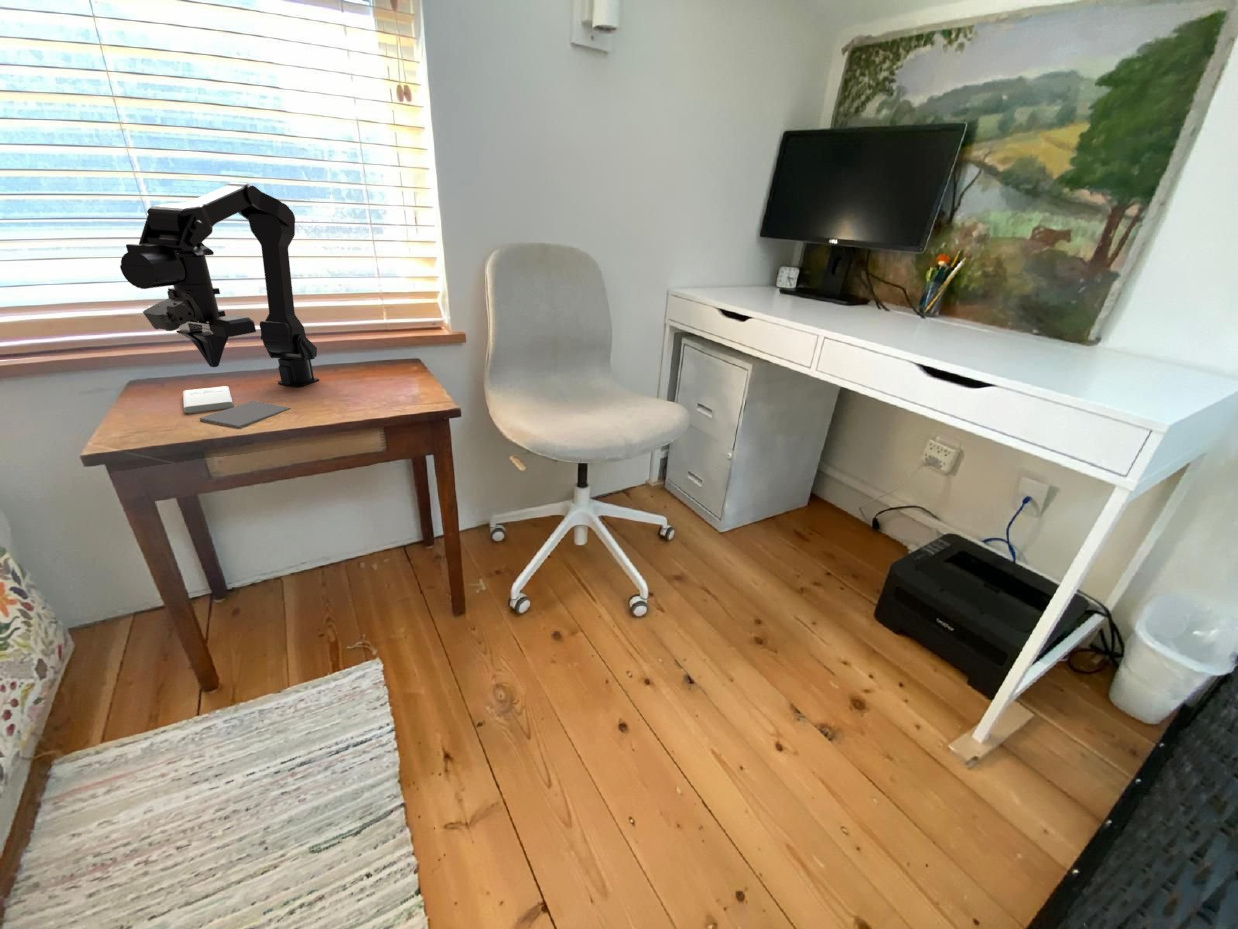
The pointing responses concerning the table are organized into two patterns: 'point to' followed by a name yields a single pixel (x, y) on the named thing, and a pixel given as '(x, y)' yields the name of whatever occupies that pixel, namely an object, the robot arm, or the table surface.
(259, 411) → the desk mat
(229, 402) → the external hard drive
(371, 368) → the table surface
